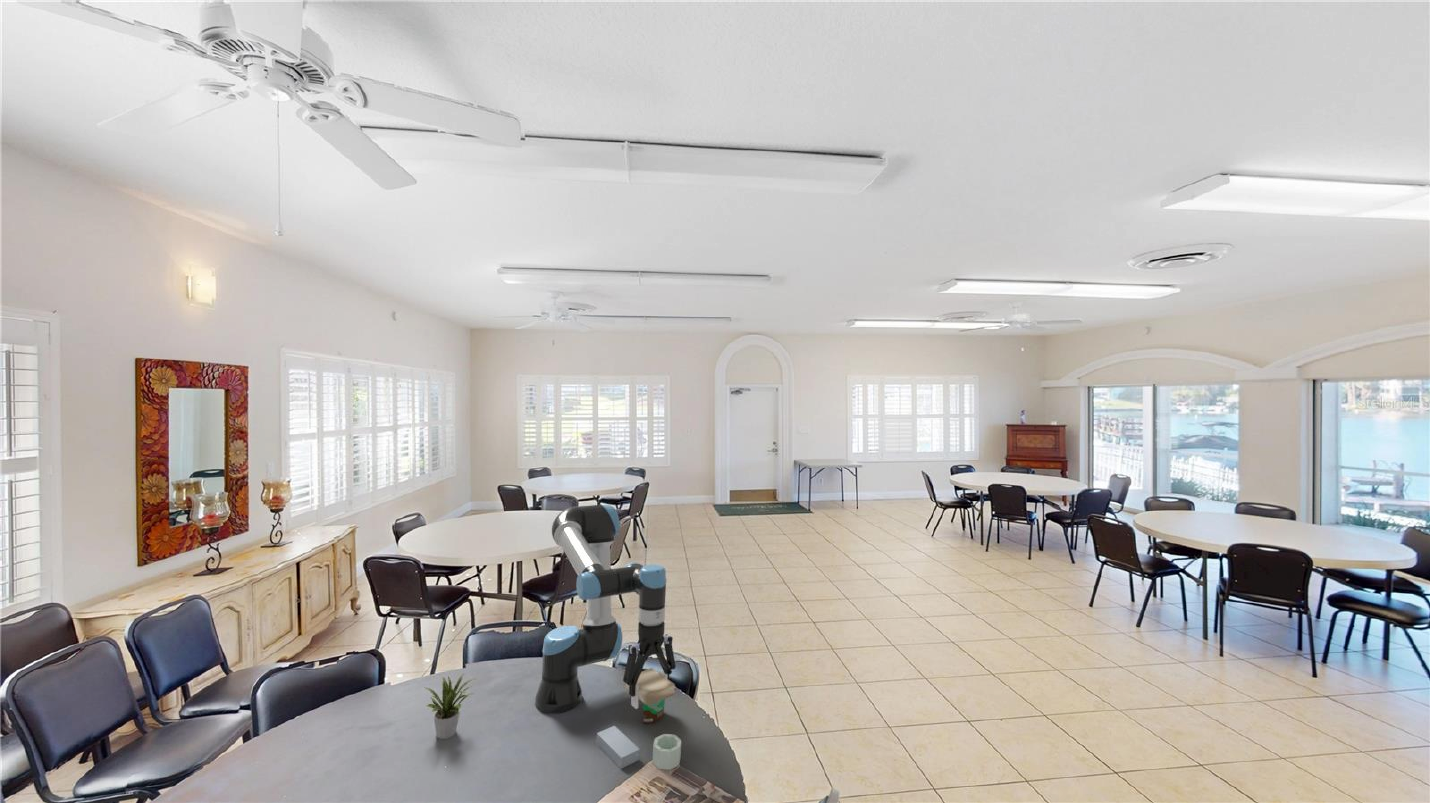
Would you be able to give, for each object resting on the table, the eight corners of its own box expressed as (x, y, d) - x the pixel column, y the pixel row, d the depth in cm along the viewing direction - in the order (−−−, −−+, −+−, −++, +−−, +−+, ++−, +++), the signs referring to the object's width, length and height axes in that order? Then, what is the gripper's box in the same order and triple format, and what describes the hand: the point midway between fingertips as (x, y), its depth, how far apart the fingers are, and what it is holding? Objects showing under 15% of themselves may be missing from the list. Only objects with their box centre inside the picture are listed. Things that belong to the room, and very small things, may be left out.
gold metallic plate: (625, 687, 150) (625, 676, 150) (651, 678, 156) (651, 667, 156) (647, 705, 141) (647, 694, 141) (674, 694, 146) (674, 684, 146)
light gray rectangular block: (596, 743, 153) (596, 733, 153) (614, 735, 157) (614, 725, 157) (621, 768, 143) (621, 757, 143) (639, 759, 147) (639, 748, 147)
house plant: (486, 728, 159) (489, 674, 159) (446, 754, 146) (449, 696, 147) (454, 715, 165) (457, 663, 165) (413, 739, 152) (416, 683, 153)
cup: (648, 758, 147) (648, 740, 148) (669, 747, 152) (670, 730, 153) (663, 773, 142) (664, 754, 142) (685, 761, 147) (686, 743, 147)
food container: (660, 729, 161) (661, 697, 162) (641, 726, 163) (642, 694, 163) (671, 707, 173) (672, 677, 174) (654, 704, 175) (655, 675, 175)
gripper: (625, 634, 139) (622, 719, 138) (689, 616, 153) (687, 694, 152) (611, 625, 145) (609, 707, 144) (674, 609, 159) (672, 683, 158)
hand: (649, 700), depth 148 cm, fingers closed on gold metallic plate, 9 cm apart
